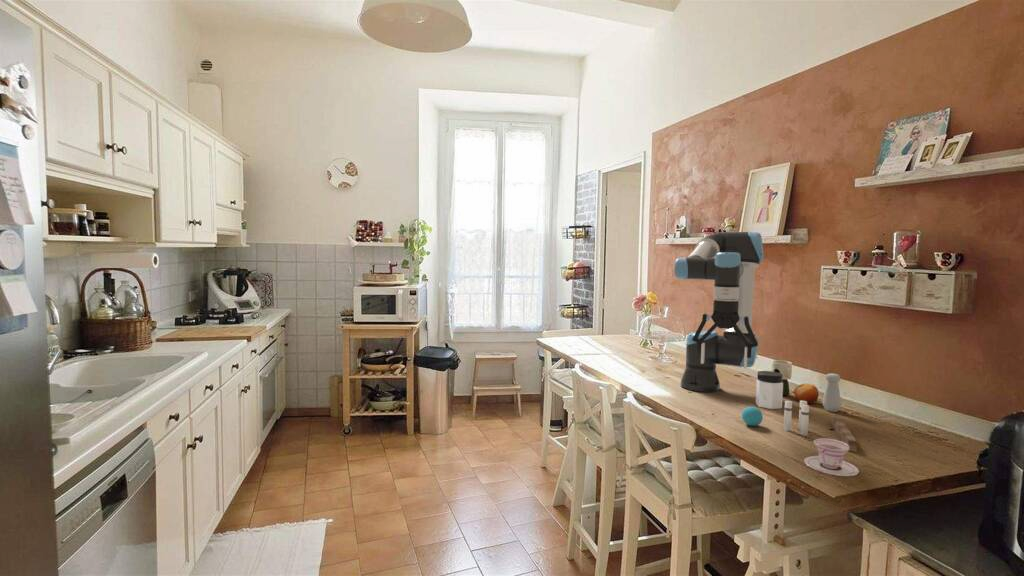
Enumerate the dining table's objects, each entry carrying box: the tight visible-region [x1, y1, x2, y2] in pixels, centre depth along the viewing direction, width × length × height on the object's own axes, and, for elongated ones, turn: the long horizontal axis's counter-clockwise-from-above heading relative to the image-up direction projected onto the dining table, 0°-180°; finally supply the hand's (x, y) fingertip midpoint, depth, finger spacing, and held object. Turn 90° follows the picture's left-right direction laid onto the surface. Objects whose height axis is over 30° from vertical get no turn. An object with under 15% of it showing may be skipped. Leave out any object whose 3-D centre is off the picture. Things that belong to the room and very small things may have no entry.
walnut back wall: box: [831, 415, 858, 453], centre depth 151 cm, size 24×2×3 cm, turn 157°
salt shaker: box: [821, 373, 842, 413], centre depth 178 cm, size 6×6×13 cm
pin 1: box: [798, 401, 808, 431], centre depth 157 cm, size 2×2×9 cm
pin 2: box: [799, 404, 810, 437], centre depth 153 cm, size 2×2×9 cm
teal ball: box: [741, 406, 764, 427], centre depth 161 cm, size 6×6×6 cm
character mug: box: [771, 359, 793, 396], centre depth 197 cm, size 11×7×13 cm, turn 3°
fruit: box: [793, 383, 820, 405], centre depth 188 cm, size 8×8×8 cm
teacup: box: [803, 437, 860, 477], centre depth 130 cm, size 12×12×6 cm
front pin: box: [783, 400, 793, 432], centre depth 157 cm, size 2×2×9 cm
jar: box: [755, 370, 784, 410], centre depth 182 cm, size 9×8×12 cm
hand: (723, 365), depth 164 cm, fingers open, 12 cm apart
